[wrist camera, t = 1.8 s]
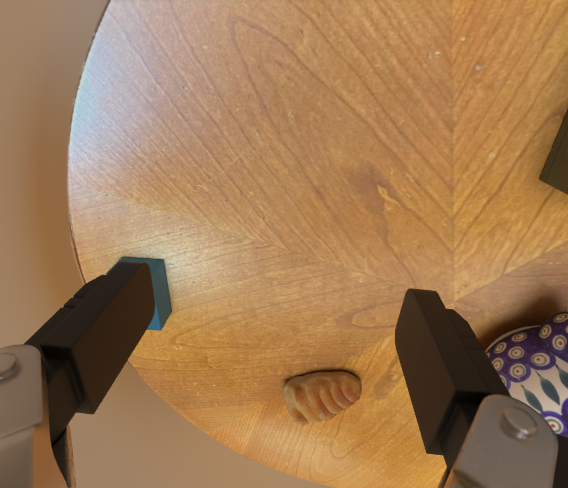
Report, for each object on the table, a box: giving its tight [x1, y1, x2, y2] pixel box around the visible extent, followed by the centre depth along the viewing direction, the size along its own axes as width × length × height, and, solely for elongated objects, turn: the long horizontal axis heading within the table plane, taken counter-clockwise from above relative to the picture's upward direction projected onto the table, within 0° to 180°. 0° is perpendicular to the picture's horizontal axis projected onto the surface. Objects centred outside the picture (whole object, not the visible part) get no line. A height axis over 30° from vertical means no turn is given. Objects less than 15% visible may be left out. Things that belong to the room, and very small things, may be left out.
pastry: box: [283, 371, 362, 426], centre depth 41 cm, size 9×7×4 cm
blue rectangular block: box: [106, 257, 172, 331], centre depth 36 cm, size 7×4×3 cm, turn 178°
